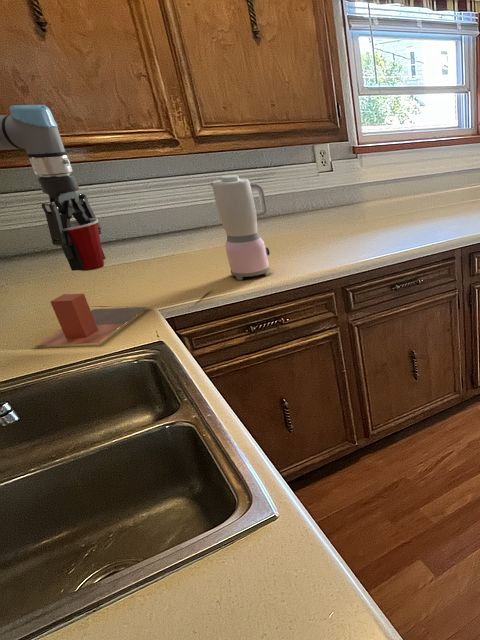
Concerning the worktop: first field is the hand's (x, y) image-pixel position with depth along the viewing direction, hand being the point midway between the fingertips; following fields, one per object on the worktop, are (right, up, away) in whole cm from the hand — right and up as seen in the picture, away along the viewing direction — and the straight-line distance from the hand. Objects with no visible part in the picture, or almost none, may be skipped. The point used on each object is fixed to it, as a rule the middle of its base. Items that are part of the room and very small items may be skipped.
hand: (89, 264), depth 137 cm
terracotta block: (+2, -19, -4) cm, 19 cm away
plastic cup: (0, -1, 0) cm, 1 cm away
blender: (+27, +4, +41) cm, 49 cm away
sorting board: (+1, -17, +1) cm, 17 cm away
